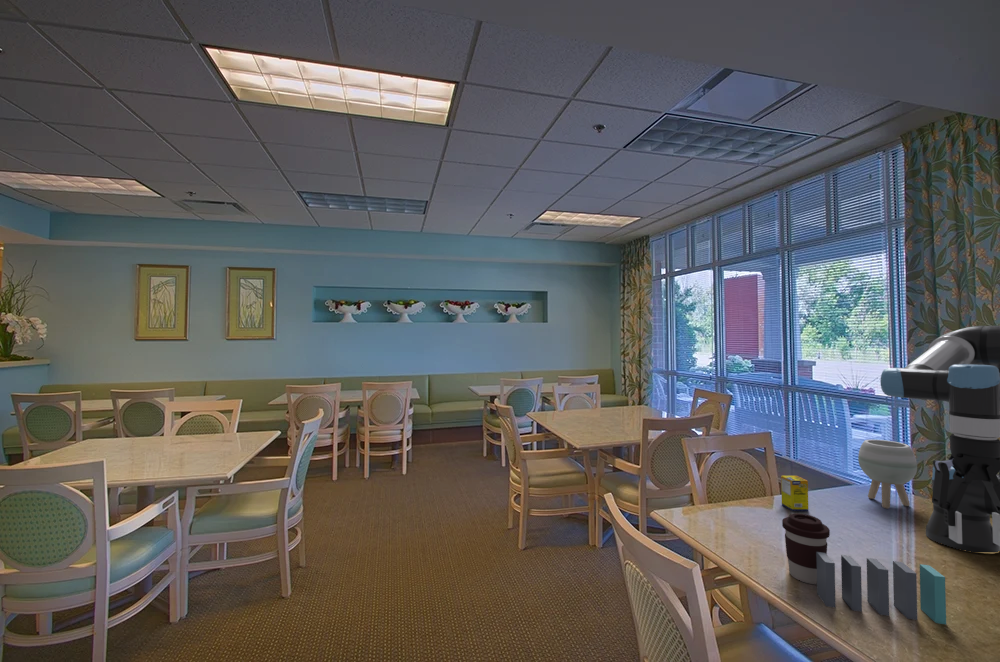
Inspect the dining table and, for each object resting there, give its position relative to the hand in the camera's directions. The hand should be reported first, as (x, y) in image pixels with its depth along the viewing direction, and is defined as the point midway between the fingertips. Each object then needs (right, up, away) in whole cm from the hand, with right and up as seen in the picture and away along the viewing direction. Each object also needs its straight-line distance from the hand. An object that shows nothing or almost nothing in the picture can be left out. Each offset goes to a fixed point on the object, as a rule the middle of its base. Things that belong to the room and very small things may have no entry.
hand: (977, 543), depth 92 cm
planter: (+40, -18, +66) cm, 79 cm away
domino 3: (-17, -17, +5) cm, 25 cm away
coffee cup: (-24, -18, +18) cm, 35 cm away
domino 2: (-22, -17, +6) cm, 29 cm away
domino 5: (-8, -17, +2) cm, 19 cm away
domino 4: (-12, -17, +3) cm, 21 cm away
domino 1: (-27, -17, +8) cm, 33 cm away
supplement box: (+4, -19, +62) cm, 65 cm away
